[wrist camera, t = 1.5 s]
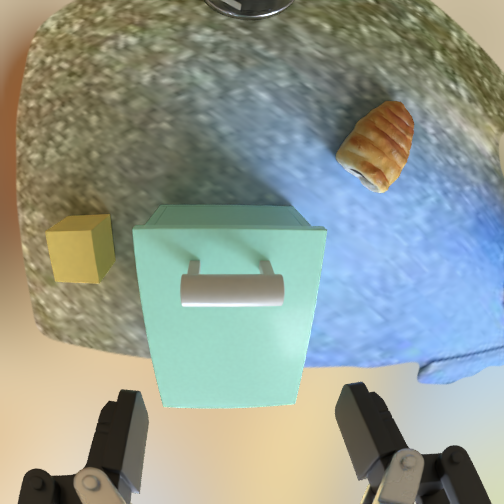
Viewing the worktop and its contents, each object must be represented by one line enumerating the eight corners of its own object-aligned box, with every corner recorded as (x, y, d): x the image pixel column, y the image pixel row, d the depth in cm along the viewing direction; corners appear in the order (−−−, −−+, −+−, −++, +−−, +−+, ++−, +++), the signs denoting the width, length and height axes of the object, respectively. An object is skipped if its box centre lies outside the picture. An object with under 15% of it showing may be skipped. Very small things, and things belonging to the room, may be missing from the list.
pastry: (373, 86, 24) (393, 82, 21) (417, 127, 26) (439, 129, 23) (327, 159, 27) (342, 164, 23) (375, 196, 29) (394, 205, 25)
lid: (134, 224, 18) (110, 254, 14) (323, 226, 20) (353, 255, 15) (163, 401, 25) (158, 442, 20) (293, 398, 26) (304, 438, 22)
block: (68, 215, 26) (44, 231, 21) (110, 213, 27) (91, 230, 22) (75, 260, 28) (55, 282, 23) (115, 260, 28) (99, 283, 24)
